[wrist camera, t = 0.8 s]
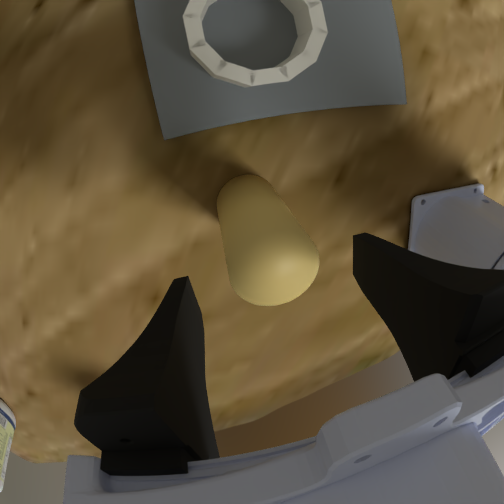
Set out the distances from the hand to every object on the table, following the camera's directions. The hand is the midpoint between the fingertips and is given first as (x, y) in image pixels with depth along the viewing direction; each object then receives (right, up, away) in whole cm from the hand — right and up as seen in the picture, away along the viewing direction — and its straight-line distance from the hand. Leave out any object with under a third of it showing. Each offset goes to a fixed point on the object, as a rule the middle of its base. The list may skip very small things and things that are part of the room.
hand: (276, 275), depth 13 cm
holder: (+1, +14, +2) cm, 14 cm away
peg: (-1, +4, +7) cm, 8 cm away
